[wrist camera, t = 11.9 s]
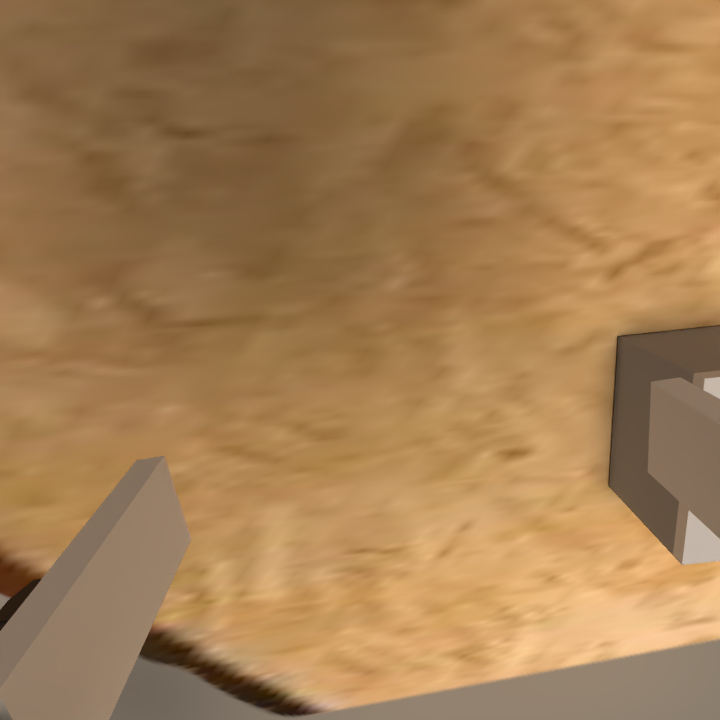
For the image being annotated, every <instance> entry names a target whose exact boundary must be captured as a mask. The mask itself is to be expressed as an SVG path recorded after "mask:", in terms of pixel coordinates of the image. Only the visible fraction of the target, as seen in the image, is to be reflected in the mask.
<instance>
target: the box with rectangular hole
mask: <svg viewBox="0 0 720 720" xmlns="http://www.w3.org/2000/svg"><path fill="white" fill-rule="evenodd" d="M679 377H681V378H683V379H684V380H686V381H688V382H690V383H692V384H693V385H695V386H697V387H699V388H701V389H703V390H704V391H706V392H708V393H710V394H712V395H713V396H715V397H717V398H719V399H720V326H713V327H704V328H694V329H685V330H675V331H666V332H656V333H647V334H637V335H628V336H619V337H618V352H617V368H616V384H615V400H614V416H613V432H612V448H611V464H610V480H609V487H610V488H611V489H612V490H613V491H614V492H615V493H616V494H617V495H618V497H619V498H620V499H621V500H622V501H623V502H624V503H625V504H626V505H627V506H628V507H629V508H630V509H631V511H632V512H633V513H634V514H635V515H636V516H637V517H638V518H639V519H640V520H641V521H642V522H643V523H644V525H645V526H646V527H647V528H648V529H649V530H650V531H651V532H652V533H653V534H654V535H655V536H656V537H657V539H658V540H659V541H660V542H661V543H662V544H663V545H664V546H665V547H666V548H667V549H668V550H669V551H670V552H671V554H672V555H673V556H674V557H675V558H676V559H677V560H678V561H679V562H680V563H681V564H682V565H685V564H695V563H705V562H714V561H720V539H719V538H718V537H717V536H716V535H715V534H714V533H713V532H712V531H711V530H710V529H709V528H707V527H706V526H705V525H704V524H703V523H702V522H701V521H700V520H699V519H698V518H697V517H696V516H695V515H693V514H692V513H691V512H690V511H689V510H688V509H687V508H686V507H685V506H684V505H683V504H682V503H681V502H679V501H678V500H677V499H676V498H675V497H674V496H673V495H672V494H671V493H670V492H669V491H668V490H666V489H665V488H664V487H663V486H662V485H661V484H660V483H659V482H658V481H657V480H656V479H655V478H654V477H652V476H651V475H650V474H649V473H648V450H649V424H650V398H651V382H653V381H660V380H666V379H673V378H679Z"/></svg>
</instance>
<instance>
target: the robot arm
mask: <svg viewBox="0 0 720 720" xmlns="http://www.w3.org/2000/svg"><path fill="white" fill-rule="evenodd" d="M648 473H649V474H650V475H651V476H652V477H654V478H655V479H656V480H657V481H658V482H659V483H660V484H661V485H662V486H663V487H664V488H665V489H666V490H668V491H669V492H670V493H671V494H672V495H673V496H674V497H675V498H676V499H677V500H678V501H679V502H681V503H682V504H683V505H684V506H685V507H686V508H687V509H688V510H689V511H690V512H691V513H692V514H693V515H695V516H696V517H697V518H698V519H699V520H700V521H701V522H702V523H703V524H704V525H705V526H706V527H707V528H709V529H710V530H711V531H712V532H713V533H714V534H715V535H716V536H717V537H718V538H719V539H720V399H719V398H717V397H715V396H713V395H712V394H710V393H708V392H706V391H704V390H703V389H701V388H699V387H697V386H695V385H693V384H692V383H690V382H688V381H686V380H684V379H683V378H681V377H679V378H673V379H666V380H660V381H653V382H651V398H650V424H649V450H648ZM190 541H191V537H190V534H189V530H188V527H187V524H186V521H185V518H184V515H183V512H182V509H181V506H180V503H179V500H178V497H177V494H176V490H175V487H174V484H173V481H172V478H171V475H170V472H169V469H168V466H167V463H166V460H165V457H164V456H160V457H154V458H147V459H141V460H136V462H135V463H134V464H133V465H132V467H131V468H130V469H129V470H128V472H127V473H126V474H125V475H124V477H123V478H122V479H121V480H120V482H119V483H118V484H117V485H116V487H115V488H114V489H113V490H112V492H111V493H110V494H109V495H108V497H107V498H106V499H105V500H104V502H103V503H102V504H101V506H100V507H99V508H98V509H97V511H96V512H95V513H94V514H93V516H92V517H91V518H90V519H89V521H88V522H87V523H86V524H85V526H84V527H83V528H82V529H81V531H80V532H79V533H78V534H77V536H76V537H75V538H74V539H73V541H72V542H71V543H70V544H69V546H68V547H67V548H66V549H65V551H64V552H63V553H62V554H61V556H60V557H59V558H58V559H57V561H56V562H55V563H54V564H53V566H52V567H51V568H50V569H49V571H48V572H47V573H46V574H45V576H44V577H43V578H42V579H37V580H33V581H32V582H31V583H29V584H28V585H27V586H26V587H24V588H23V589H22V590H21V591H19V592H18V593H17V594H16V595H14V596H13V597H12V598H11V599H9V600H8V601H7V603H6V604H5V605H4V606H3V607H2V609H1V610H0V720H109V718H110V716H111V714H112V712H113V710H114V707H115V705H116V703H117V701H118V699H119V696H120V694H121V692H122V690H123V687H124V686H125V683H126V681H127V679H128V677H129V674H130V672H131V670H132V668H133V666H134V664H135V661H136V659H137V657H138V655H139V653H140V650H141V648H142V646H143V644H144V642H145V640H146V637H147V635H148V633H149V631H150V629H151V626H152V624H153V622H154V620H155V618H156V615H157V613H158V611H159V609H160V607H161V604H162V602H163V600H164V598H165V596H166V593H167V591H168V589H169V587H170V585H171V583H172V580H173V578H174V576H175V574H176V572H177V569H178V567H179V565H180V563H181V561H182V558H183V556H184V554H185V552H186V550H187V547H188V545H189V543H190Z"/></svg>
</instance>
